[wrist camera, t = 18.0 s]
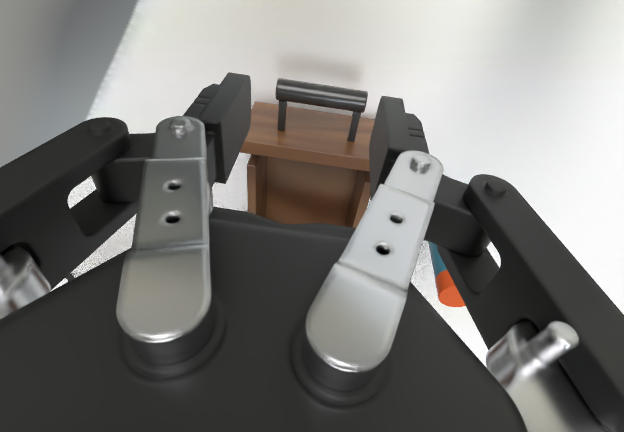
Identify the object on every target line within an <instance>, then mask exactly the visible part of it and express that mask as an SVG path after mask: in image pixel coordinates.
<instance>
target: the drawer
mask: <svg viewBox="0 0 624 432" xmlns="http://www.w3.org/2000/svg"><path fill="white" fill-rule="evenodd" d="M367 95H368V94H367V91H360V90H354V89H347V88H340V87H334V86H327V85H320V84H314V83H307V82H300V81H294V80H287V79H280V78H279V79H278V81H277V85H276V99H277V100H279V105H274V104H267V103H261V102H255V103H254V105H253V107H252V110H251V123H250V129H249V132H248V134H247V137H246V139H245V141H244V143H243V146H242V148H241V150H240V152H241V153H248V154H251V156H250V159H249V161H248V164H247V190H248V212H250V213H253V214H256V215H258V216H261V217H264V218H267V219H270V220H273V221H275V222H278V223H281V224H311V223H325V224H332V225H338V226H345V227H352V228H357V226H358V224H359V222H360V220H361V218H362V217H363V215H364V213H365V211H366V208H367V205H368V202H369V198H370V166H369V144H370V138H371V133H372V130H373V126H374V122H375V120H374V119H367V118H361V117H360V115H361V112H362V113H363V112H364V111H365V107H366V102H367ZM287 101H288V102H295V103H302V104H308V105H315V106H322V107H329V108H335V109H342V110H349V111H353V114H352V116H347V115H341V114H334V113H327V112H321V111H314V110H307V109H301V108H294V107H287Z"/></svg>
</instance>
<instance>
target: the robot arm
mask: <svg viewBox="0 0 624 432" xmlns="http://www.w3.org/2000/svg"><path fill="white" fill-rule="evenodd" d="M250 123H251V81H250V76H249V75H243V74H236V73H228V74H227V75H226V77H225V78H224V80H223V81H222V82H221V84H220V85H217V84H212V85H210V86H208V87H206V88H204V89H203V90H202V91H201V93H200V94H199V95H198V97H197V98H196V99H195V100H194V103H192V104H191V106H190V107H189V108H188V110H187V111H186V112H185V114H184V115H183V116H176V117H171V118H167V119H165V120H163V121H161V122H160V123H159V124H158V125H157V127H156V133H147V134H129V132H128V128H127V125H126V123H124V122H123V121H121V120H119V119H116V118H108V117H103V118H95V119H90V120H87V121H84V122H82V123H80V124H78V125H77V126H75V127H73V128H71V129H69V130H67V131H66V132H64V133H62V134H60V135H58V136H57V137H55V138H53V139H51V140H50V141H48V142H46V143H44V144H42V145H40V146H39V147H37V148H35V149H33V150H31V151H30V152H28V153H26V154H24V155H22V156H20V157H19V158H17V159H15V160H13V161H11V162H10V163H8V164H6V165H5V166H2V167H1V168H0V432H624V315H623V314H622V312H621V311H620V310H619V309H618V308H617V307H616V305H615V304H614V303H613V302H612V301H611V300H610V298H609V297H608V296H607V295H606V294H605V292H604V291H603V290H602V289H601V288H600V287H599V285H598V284H597V283H596V282H595V281H594V280H593V278H592V277H591V276H590V275H589V274H588V273H587V271H586V270H585V269H584V268H583V267H582V266H581V264H580V263H579V262H578V261H577V260H576V259H575V257H574V256H573V255H572V254H571V253H570V252H569V250H568V249H567V248H566V247H565V246H564V245H563V243H562V242H561V241H560V240H559V239H558V238H557V236H556V235H555V234H554V233H553V232H552V231H551V229H550V228H549V227H548V226H547V225H546V224H545V222H544V221H543V220H542V219H541V218H540V217H539V215H538V214H537V213H536V212H535V211H534V210H533V208H532V207H531V206H530V205H529V204H528V203H527V201H526V200H525V199H524V198H523V197H522V196H521V194H520V193H519V192H518V191H517V190H516V189H515V188H514V187H513V186H512V185H511V184H510V183H508V182H507V181H505V180H503V179H501V178H498V177H495V176H492V175H484V174H482V175H476V176H474V177H473V178H472V179H471V181H470V182H469V184H465V183H462V182H459V181H456V180H454V179H451V178H449V177H447V176H445V175H443V174H442V173H443V165H442V164H441V162H440V161H439V160H438V159H436V158H435V157H433V156H432V155H430V154H429V151H428V147H427V143H426V139H425V135H424V132H423V127H422V124H421V121H420V120H419V119H418V118H417V117H416V116H415V115H414V114H409V113H405V109H404V104H403V100H402V99H400V98H394V97H387V96H382V97H381V99H380V103H379V106H378V110H377V114H376V118H375V122H374V126H373V130H372V133H371V138H370V144H369V166H370V196H371V202H370V204H369V206H368V207H367V209H366V211H365V213H364V215H363V217H362V218H361V220H360V222H359V224H358V226H357V228H352V227H345V226H338V225H332V224H325V223H311V224H281V223H278V222H275V221H273V220H270V219H267V218H264V217H261V216H258V215H256V214H253V213H250V212H244V211H238V210H231V209H224V208H217V207H214V208H213V195H212V186H213V184H214V182H217V183H224V184H226V181H227V179H228V177H229V175H230V172H231V170H232V168H233V166H234V163H235V161H236V159H237V157H238V155H239V152H240V150H241V148H242V146H243V143H244V141H245V139H246V137H247V134H248V132H249V129H250ZM90 176H92V179H93V181H94V184H95V186H96V188H97V189H96V190H95V191H93V192H92V193H91V194H89V195H88V196H87V197H85V198H84V199H83V200H81V201H80V202H79V203H77V204H76V205H75V206H73V207H72V208H71V209H70V208H69V206H68V203H67V199H68V195H69V193H70V192H71V190H72V189H73V188H74V187H76V186H77V185H79V184H80V183H81V182H83V181H84V180H86V179H87V178H89V177H90ZM136 213H137V215H136V222H135V229H134V235H133V242H132V247H131V248H130V249H128V250H126V251H124V252H123V253H121V254H119V255H117V256H115V257H113V258H112V259H110V260H108V261H106V262H104V263H102V264H101V265H99V266H97V267H95V268H93V269H91V270H89V271H88V272H86V273H84V274H82V275H80V276H78V277H77V278H75V279H74V277H73V276H72V275H71V274H70V273H71V272H72V271H73V270H74V269H75V268H76V267H77V266H78V265H80V264H81V263H82V262H83V261H84V260H85V259H86V258H87V257H88V256H90V255H91V254H92V253H93V252H94V251H95V250H96V249H97V248H98V247H100V246H101V245H102V244H103V243H104V242H105V241H106V240H107V239H108V238H110V237H111V236H112V235H113V234H114V233H115V232H116V231H117V230H118V229H119V228H121V227H122V226H123V225H124V224H125V223H126V222H127V221H128V220H129V219H131V218H132V217H133V216H134V215H135V214H136ZM423 240H427V241H429V242H432V243H434V244H437V251H438V253H439V255H440V257H441V259H442V261H443V263H444V264H445V266H446V268H447V270H448V272H449V274H450V276H451V278H452V280H453V282H454V284H455V286H456V288H457V290H458V292H459V293H460V295H461V297H462V299H463V301H464V303H465V305H466V307H467V309H468V311H469V313H470V315H471V317H472V319H473V321H474V323H475V324H476V326H477V328H478V330H479V332H480V334H481V336H482V338H483V340H484V342H485V344H486V346H487V348H488V350H489V351H488V353H487V356H486V365H487V368H486V367H485V366H484V365H483V363H482V362H481V361H480V360H479V359H478V358H477V357H476V356H475V354H474V353H473V352H472V351H471V350H470V349H469V348H468V347H467V345H466V344H465V343H464V342H463V341H462V340H461V339H460V337H459V336H458V335H457V334H456V333H455V332H454V331H453V330H452V328H451V327H450V326H449V325H448V324H447V323H446V322H445V320H444V319H443V318H442V317H441V316H440V315H439V314H438V313H437V311H436V310H435V309H434V308H433V307H432V306H431V305H430V303H429V302H428V301H427V300H426V299H425V298H424V297H423V296H422V294H421V293H420V292H419V291H418V290H417V289H416V288H415V286H414V285H413V284H412V283H411V282H410V280H411V277H412V274H413V271H414V268H415V265H416V261H417V258H418V255H419V252H420V249H421V246H422V243H423ZM490 242H492V243H493V245H494V246H495V248H496V249H497V251H498V252H499V254H500V258H501V266H500V268H499V267H498V265H497V263H496V262H495V260H494V259H493V257H492V256H491V254H490V253H489V251H488V250H487V248H486V247H487V246H488V245H489V243H490ZM64 278H66V279H67V280H68V282H67V283H66V284H64V285H62V286H60V287H58V288H56V289H54V290H53V291H51V290H52V289H53V288H54V287H55V286H56V285H57V284H58V283H60V282H61V281H62V280H63V279H64ZM50 291H51V292H50Z"/></svg>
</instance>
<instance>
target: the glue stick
mask: <svg viewBox="0 0 624 432" xmlns="http://www.w3.org/2000/svg"><path fill="white" fill-rule="evenodd" d="M428 243H429V248H430V253H431V258H432V264H433V269H434V274H435V282H436V288H437V293H438V298H439V301H440V302H441V303H442V304H444V305H446V306H450V307H462V306H466V305H465V303H464V301H463V299H462V297H461V295H460V293H459V292H458V290H457V288H456V286H455V284H454V282H453V280H452V278H451V276H450V274H449V272H448V270H447V268H446V266H445V264H444V263H443V261H442V259H441V257H440V255H439V253H438V251H437V244H434V243H432V242H429V241H428Z"/></svg>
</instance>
